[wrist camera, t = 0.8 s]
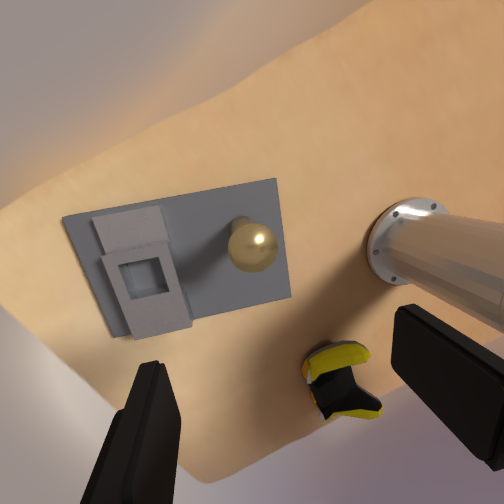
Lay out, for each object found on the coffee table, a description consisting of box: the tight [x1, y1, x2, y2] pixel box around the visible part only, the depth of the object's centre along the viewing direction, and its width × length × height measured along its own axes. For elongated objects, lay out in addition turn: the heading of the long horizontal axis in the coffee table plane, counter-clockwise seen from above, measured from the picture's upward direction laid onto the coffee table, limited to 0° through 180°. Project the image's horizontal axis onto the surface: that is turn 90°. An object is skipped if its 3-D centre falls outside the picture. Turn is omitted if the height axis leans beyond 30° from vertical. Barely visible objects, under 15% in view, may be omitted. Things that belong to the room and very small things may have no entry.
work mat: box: [62, 178, 291, 338], centre depth 30 cm, size 24×16×1 cm, turn 100°
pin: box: [228, 215, 278, 273], centre depth 25 cm, size 4×4×9 cm
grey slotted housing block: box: [92, 204, 194, 340], centre depth 28 cm, size 7×15×2 cm, turn 10°
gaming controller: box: [302, 340, 383, 420], centre depth 38 cm, size 15×6×10 cm
